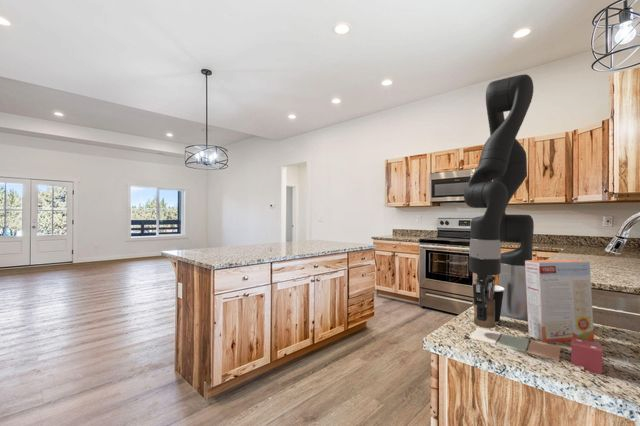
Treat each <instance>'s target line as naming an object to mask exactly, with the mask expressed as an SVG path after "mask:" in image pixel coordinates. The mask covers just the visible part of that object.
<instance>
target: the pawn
mask: <svg viewBox="0 0 640 426" xmlns="http://www.w3.org/2000/svg"><path fill="white" fill-rule="evenodd" d="M486 294H487V293H486ZM486 294H485V295H486ZM492 297H493V292H492V290H490V298H489V299H488V300H487V320H486V321H482V320H478V319H477V306H476V305H474V304H473V307H474V308H473V309H474V310H473V323H474V324H473V325H475V326H478V328H482V329H493V328H495V327H496V324H495V300H494V299H492ZM479 301H482V299H481V298H479Z"/></svg>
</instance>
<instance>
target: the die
mask: <svg viewBox="0 0 640 426" xmlns="http://www.w3.org/2000/svg"><path fill="white" fill-rule="evenodd" d="M570 350H571V354H570V355H571V356H570V357H571V359H570V360H571V361H570V365H575V366H579V367H582V368H583V370H584V371H587V372H591V373H594V374H598V375H603V348H602V343H600V342H596V341H587V340H582V339H578V338H573V337H572V342H571V348H570Z"/></svg>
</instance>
